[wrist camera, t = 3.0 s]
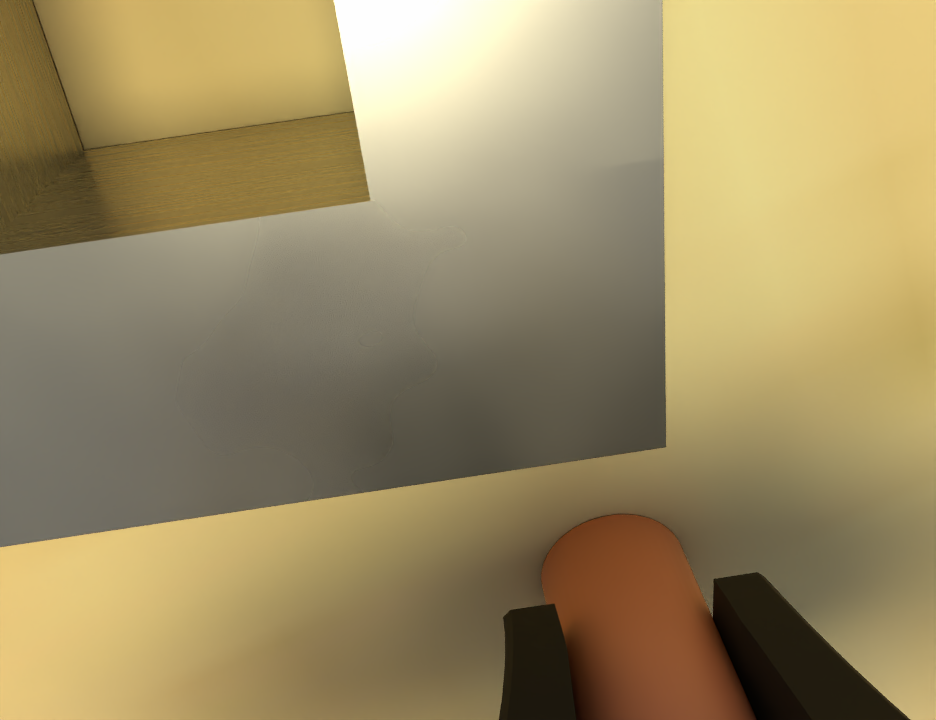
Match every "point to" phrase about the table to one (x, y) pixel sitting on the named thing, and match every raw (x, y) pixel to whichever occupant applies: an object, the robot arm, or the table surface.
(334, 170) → the silver box with hole
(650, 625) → the cylindrical pin
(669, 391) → the table surface
